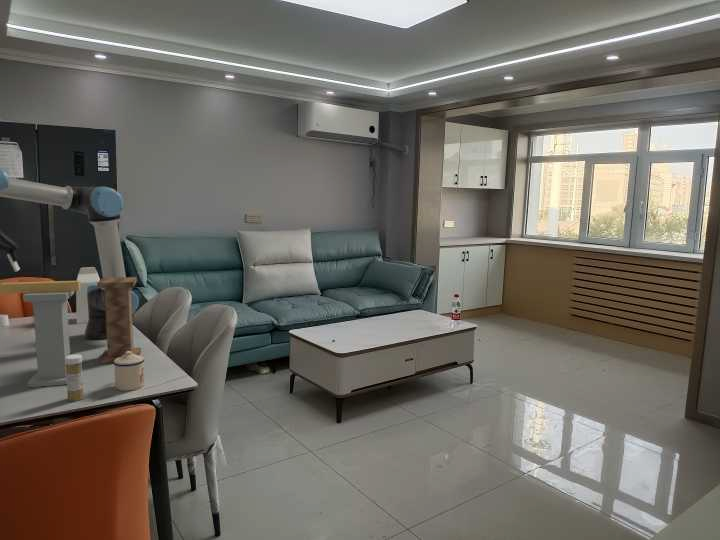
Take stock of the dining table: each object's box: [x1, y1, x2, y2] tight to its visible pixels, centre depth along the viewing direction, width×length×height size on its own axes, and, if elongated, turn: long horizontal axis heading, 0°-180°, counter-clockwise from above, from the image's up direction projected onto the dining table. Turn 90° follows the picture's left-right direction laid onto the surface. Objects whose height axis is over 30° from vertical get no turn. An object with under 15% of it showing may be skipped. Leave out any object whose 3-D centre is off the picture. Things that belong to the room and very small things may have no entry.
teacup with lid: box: [113, 351, 145, 392], centre depth 171 cm, size 12×9×12 cm
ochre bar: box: [0, 280, 81, 295], centre depth 170 cm, size 22×3×3 cm, turn 108°
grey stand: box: [22, 291, 75, 388], centre depth 173 cm, size 13×13×30 cm
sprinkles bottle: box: [65, 354, 85, 402], centre depth 158 cm, size 5×5×14 cm
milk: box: [75, 266, 101, 324], centre depth 255 cm, size 12×12×26 cm
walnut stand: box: [97, 276, 142, 365], centre depth 197 cm, size 13×13×30 cm
